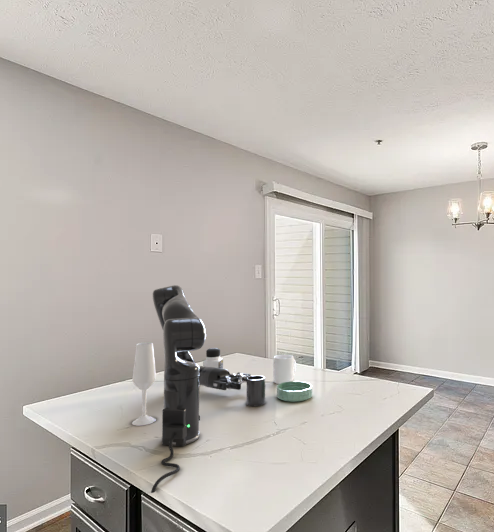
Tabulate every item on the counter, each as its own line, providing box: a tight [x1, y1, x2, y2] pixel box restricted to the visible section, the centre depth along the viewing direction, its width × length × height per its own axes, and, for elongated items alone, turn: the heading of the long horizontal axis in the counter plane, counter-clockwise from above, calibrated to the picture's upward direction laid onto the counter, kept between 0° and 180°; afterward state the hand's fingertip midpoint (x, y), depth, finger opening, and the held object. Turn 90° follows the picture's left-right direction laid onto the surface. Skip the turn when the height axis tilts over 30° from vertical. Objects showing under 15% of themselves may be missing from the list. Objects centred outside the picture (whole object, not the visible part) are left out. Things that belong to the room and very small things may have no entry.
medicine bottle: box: [202, 347, 224, 369], centre depth 171 cm, size 7×7×12 cm
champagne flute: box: [131, 341, 157, 427], centre depth 117 cm, size 7×7×24 cm
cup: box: [245, 374, 266, 407], centre depth 134 cm, size 6×6×9 cm
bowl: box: [276, 380, 313, 403], centre depth 141 cm, size 13×13×4 cm
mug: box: [272, 353, 297, 385], centre depth 162 cm, size 9×12×11 cm
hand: (248, 383), depth 135 cm, fingers open, 8 cm apart
